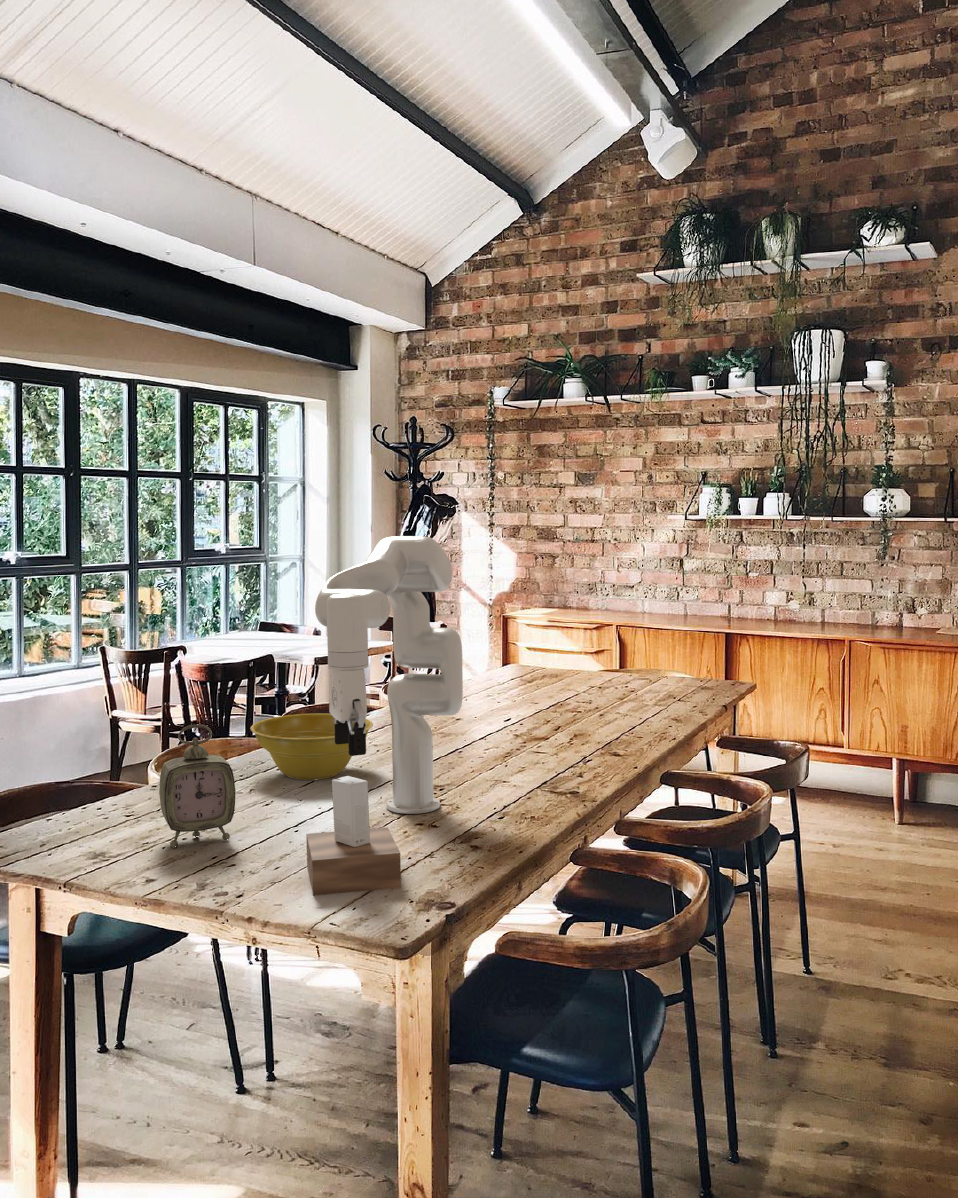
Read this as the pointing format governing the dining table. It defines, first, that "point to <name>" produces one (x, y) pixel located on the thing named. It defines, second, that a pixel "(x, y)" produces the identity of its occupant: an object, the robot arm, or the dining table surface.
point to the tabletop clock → (197, 790)
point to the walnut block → (353, 863)
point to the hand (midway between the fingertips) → (350, 749)
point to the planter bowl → (304, 745)
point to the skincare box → (351, 811)
